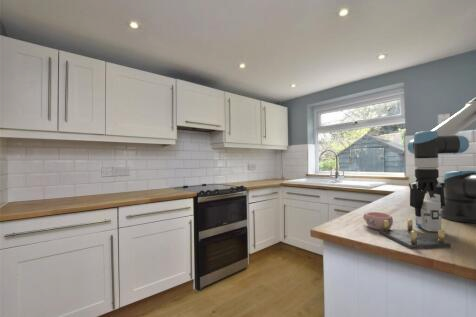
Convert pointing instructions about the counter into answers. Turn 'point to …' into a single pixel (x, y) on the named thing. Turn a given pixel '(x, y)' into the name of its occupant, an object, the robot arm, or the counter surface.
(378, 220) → the pink bowl
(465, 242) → the counter surface
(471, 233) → the counter surface
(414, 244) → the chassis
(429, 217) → the ink box
